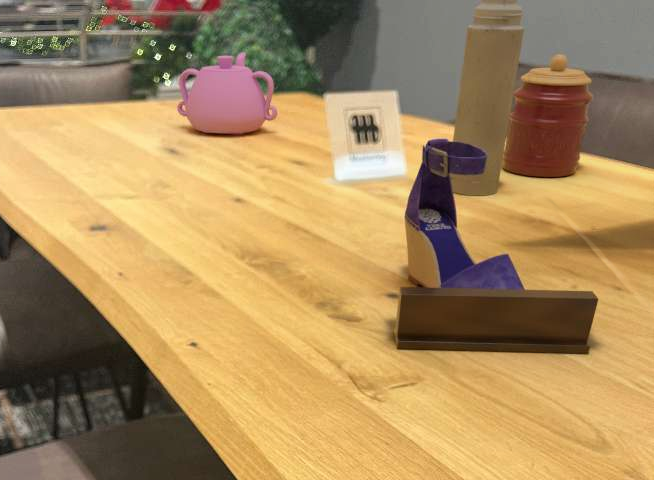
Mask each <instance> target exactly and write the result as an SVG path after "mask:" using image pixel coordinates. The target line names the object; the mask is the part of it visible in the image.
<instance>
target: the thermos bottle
mask: <svg viewBox="0 0 654 480" xmlns="http://www.w3.org/2000/svg"><path fill="white" fill-rule="evenodd" d="M522 16H523V8H522V7H521V6H520V5H519V4H518V0H481V3H480V4H479V5H477V6H476V7H474V13H473V15H472V17H473V22H472V23H471V24H469V25H468V26H467V29H466V37H465V45H464V55H463V63H462V69H461V76H460V82H459V83H460V84H459V91H458V98H457V107H456V115H455V122H454V130H453V137H452V141H455V142H464V143H467V144H470V145H473V146H476V147H478V148H480V149H482V150H484V151H485V152H486V153H487V160H486V165H485V171H484V173H483V174H480V175H457V174H451V173H449V174H450V179H451V184H452V189H453V194H454V193H455V194H459V195H464V196H489V195H493V194H496V193H497V192H498V188H499V183H500V176H501V171H502V167H503V154H504V150H505V145H506V139H507V133H508V127H509V121H510V113H511V112H512V111H511V110H512V104H513V99H514V96H513V93H514V91H515V88H516V87H515V86H516V82H517V81H516V79H517V75H518V68H519V61H520V56H521V50H522V44H523V38H524V31H525V27H524V26H522V25H521V21H522V20H521V19H522ZM457 166H458V165H457Z"/></svg>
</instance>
